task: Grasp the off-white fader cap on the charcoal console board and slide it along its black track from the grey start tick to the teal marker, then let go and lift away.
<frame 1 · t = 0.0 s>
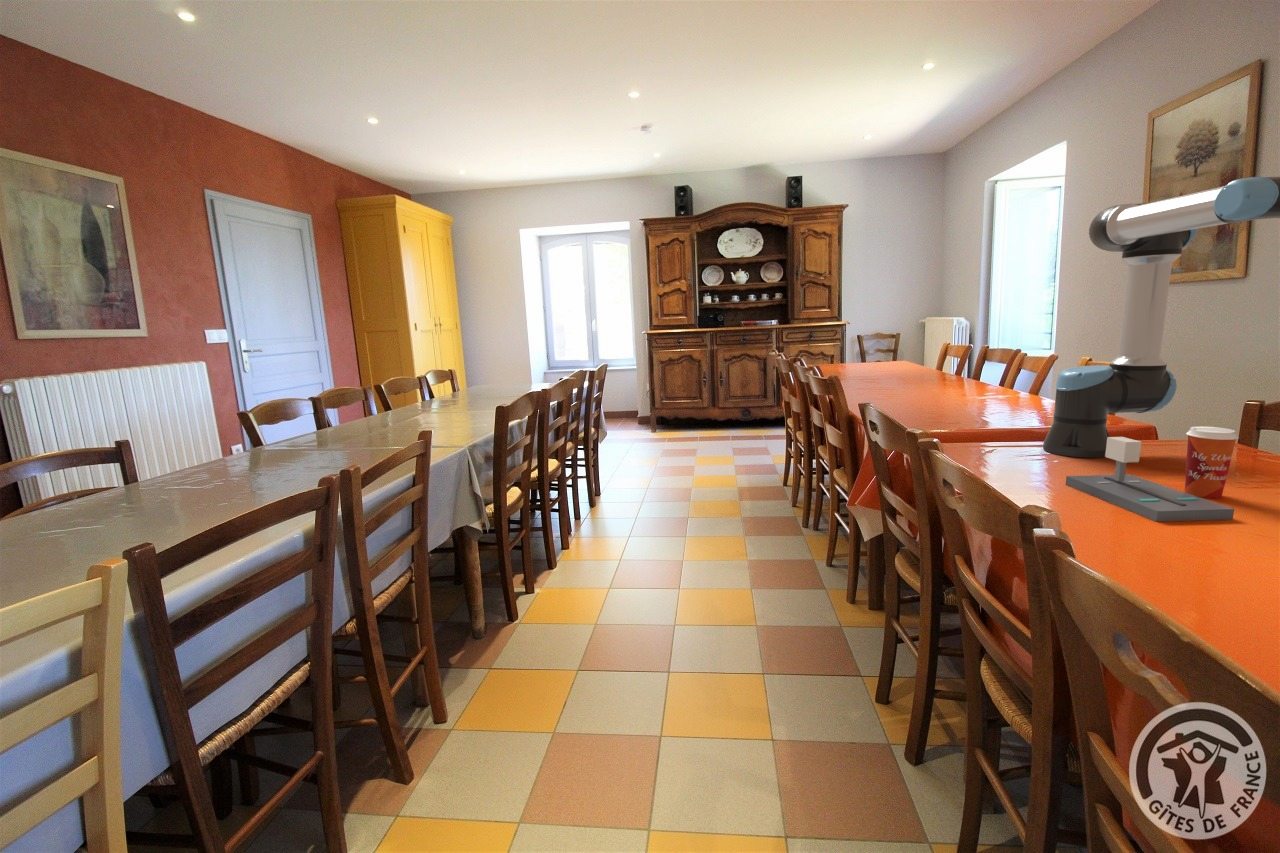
console board: (1140, 500, 119), on the table
fader: (1121, 460, 124), point 7 cm above the table, slide at -6.0 cm
paper cup: (1203, 495, 121), on the table
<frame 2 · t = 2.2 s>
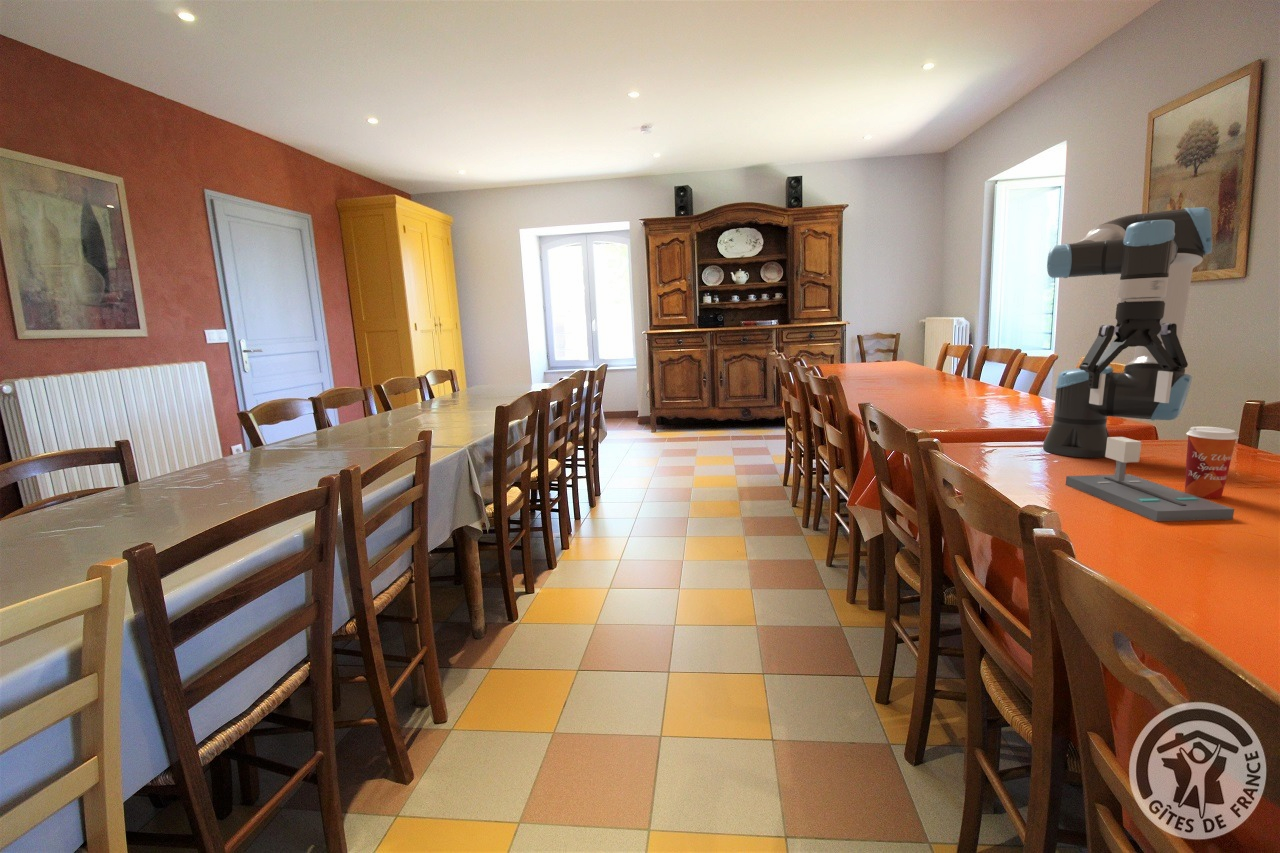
hand: (1128, 403, 121), 19 cm above the table, fingers open, 13 cm apart
nothing on the table moved.
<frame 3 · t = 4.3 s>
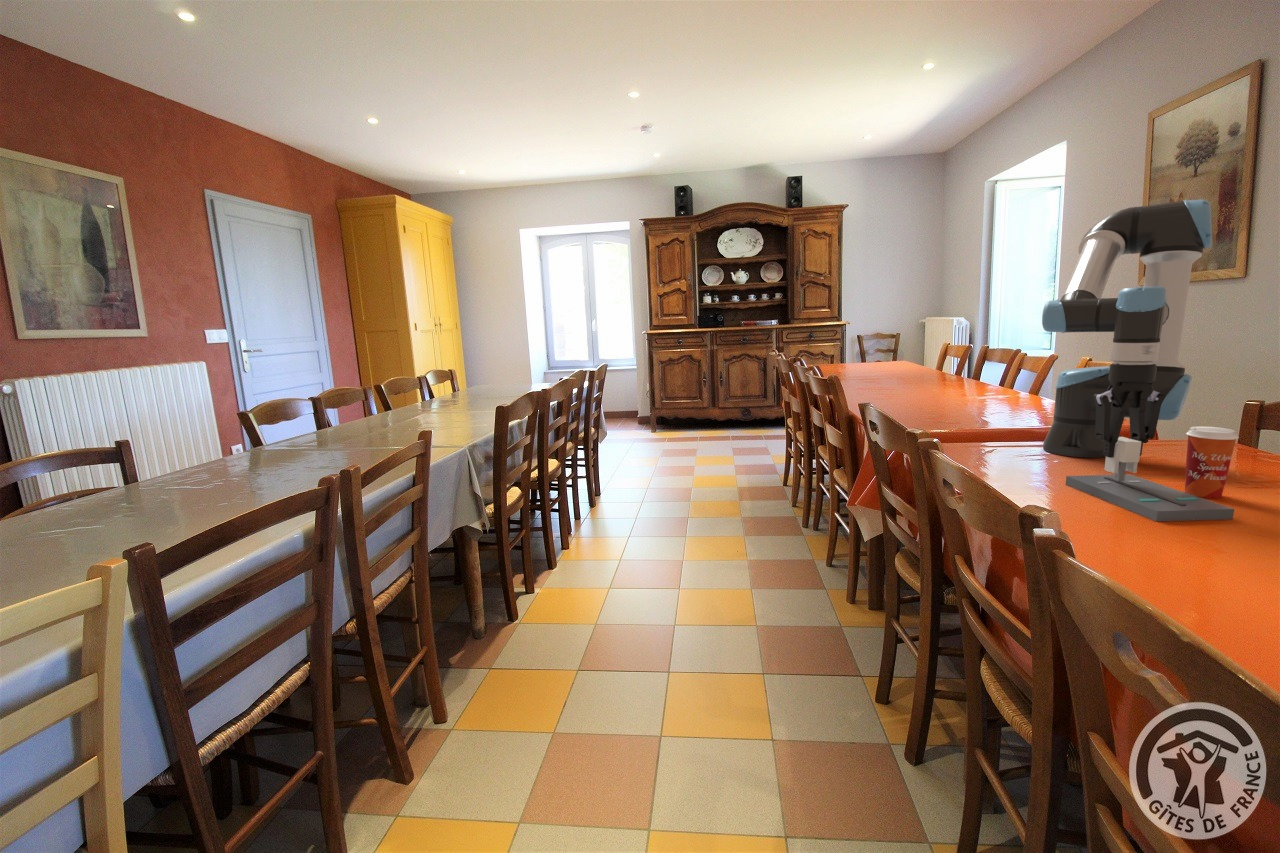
hand: (1120, 471, 124), 5 cm above the table, fingers closed on fader, 3 cm apart
fader: (1121, 460, 124), point 7 cm above the table, slide at -6.0 cm, touching gripper
everything else where it was.
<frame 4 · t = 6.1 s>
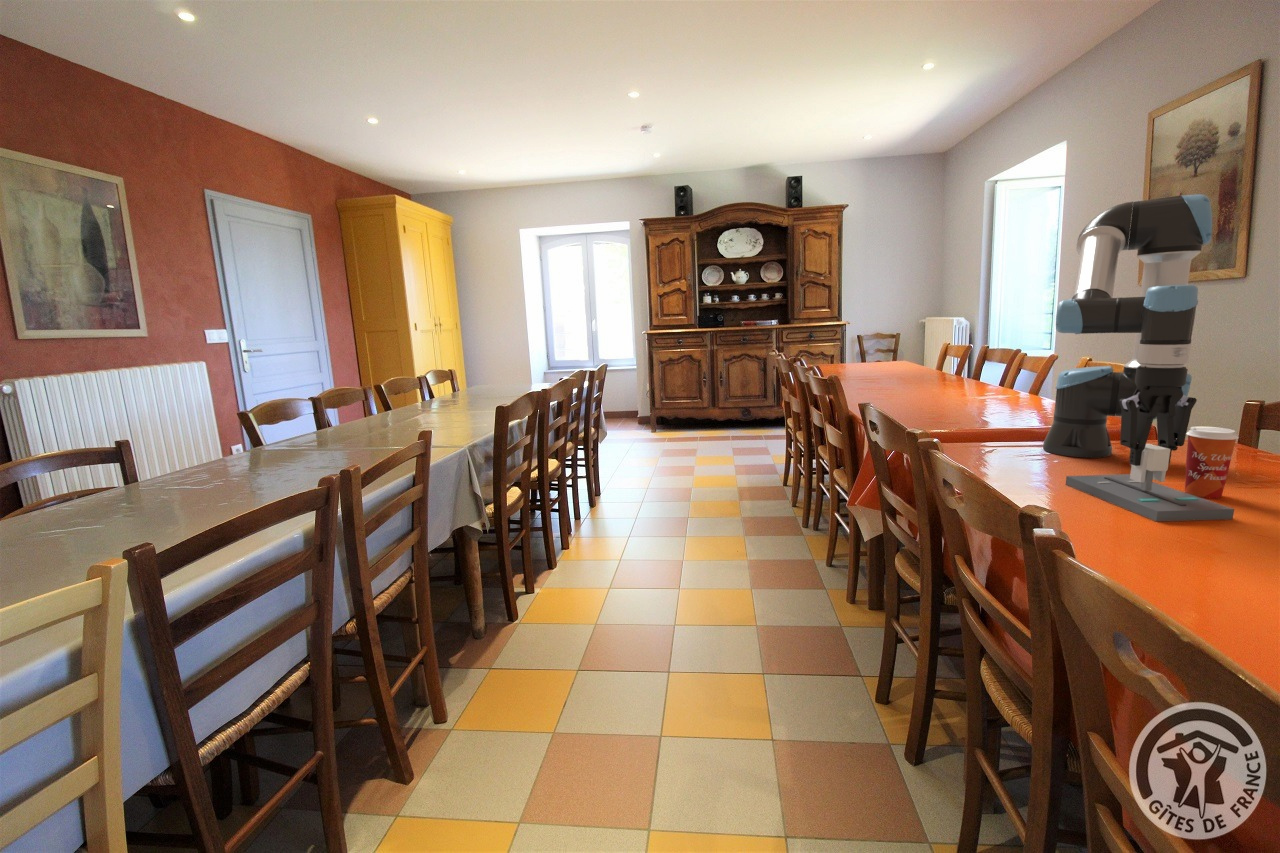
hand: (1147, 480, 118), 5 cm above the table, fingers closed on fader, 3 cm apart
fader: (1148, 468, 117), point 7 cm above the table, slide at 0.9 cm, touching gripper
everything else where it was.
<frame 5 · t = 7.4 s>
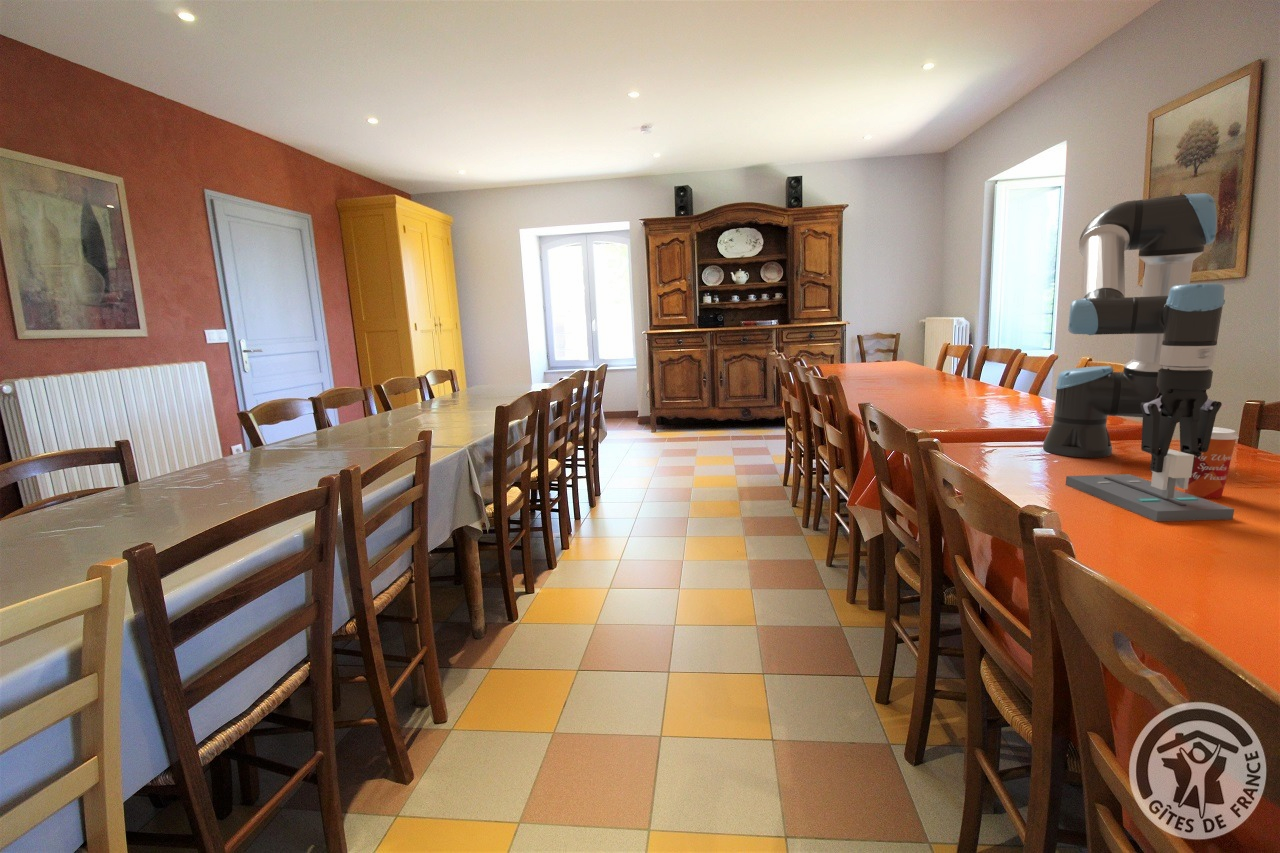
hand: (1168, 487, 113), 5 cm above the table, fingers closed on fader, 3 cm apart
fader: (1170, 475, 112), point 7 cm above the table, slide at 5.9 cm, touching gripper
everything else where it was.
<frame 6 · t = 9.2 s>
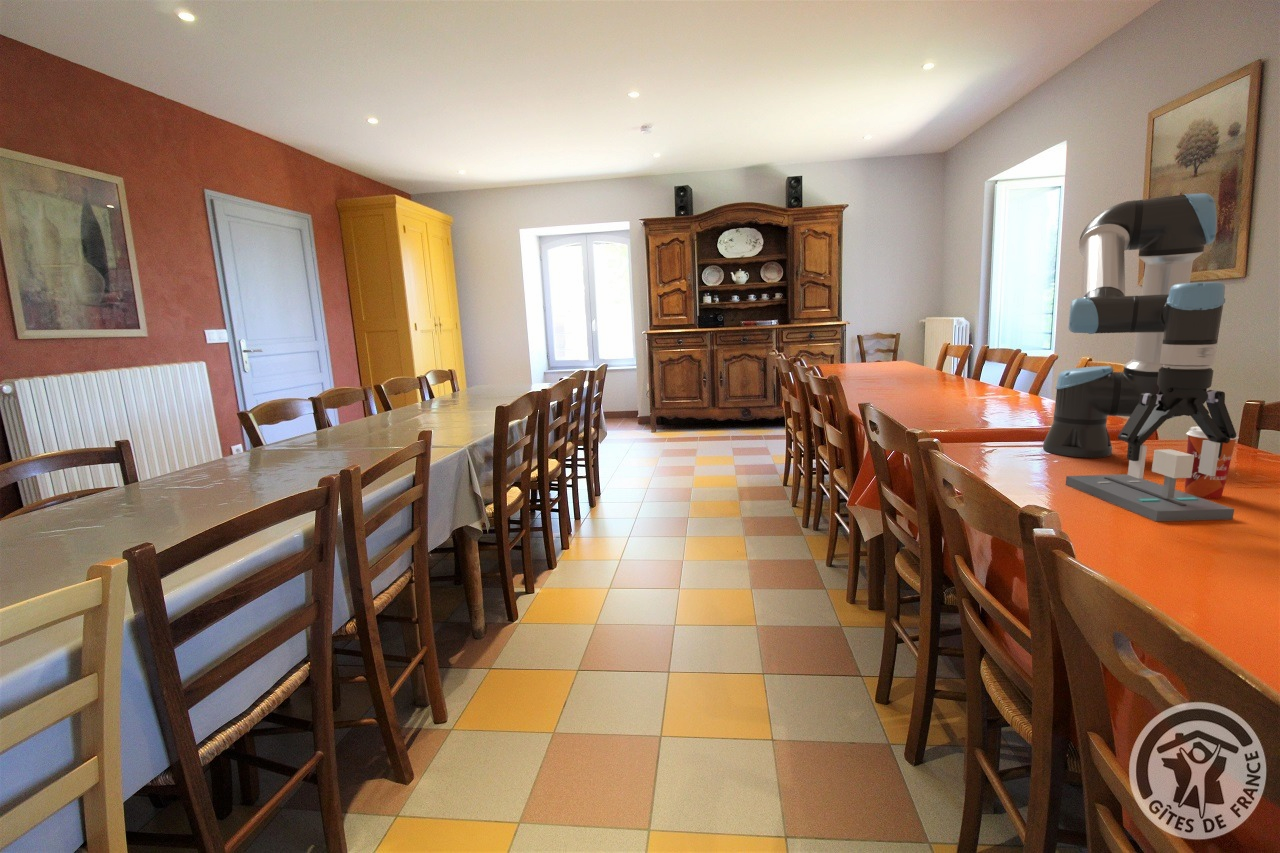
hand: (1170, 475, 112), 7 cm above the table, fingers open, 13 cm apart
fader: (1170, 475, 112), point 7 cm above the table, slide at 6.0 cm
everything else where it was.
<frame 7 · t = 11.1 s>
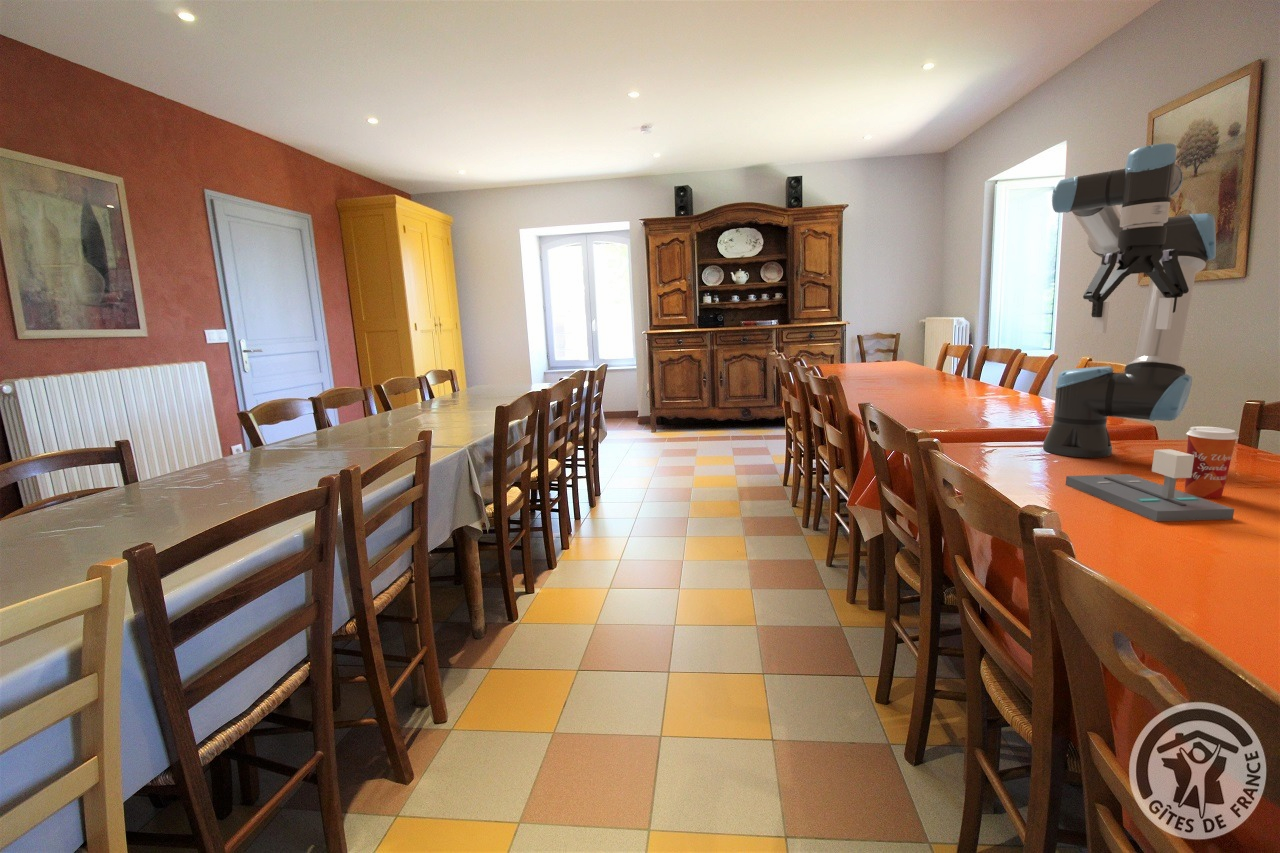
hand: (1131, 331, 123), 34 cm above the table, fingers open, 13 cm apart
nothing on the table moved.
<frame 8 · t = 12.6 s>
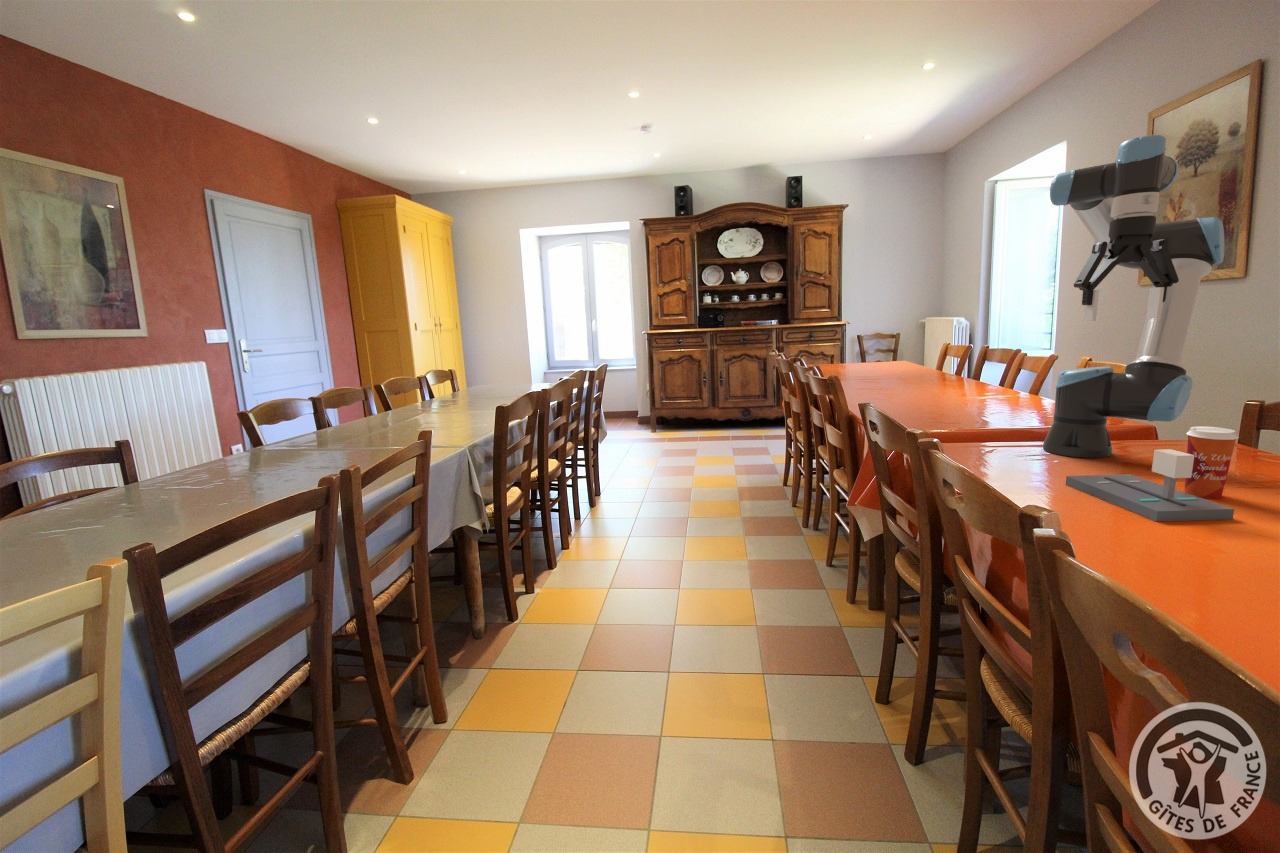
hand: (1121, 319, 125), 37 cm above the table, fingers open, 13 cm apart
nothing on the table moved.
at the end: fader slide at 6.0 cm; the gripper is holding nothing; paper cup moved 0.2 cm from its start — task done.
